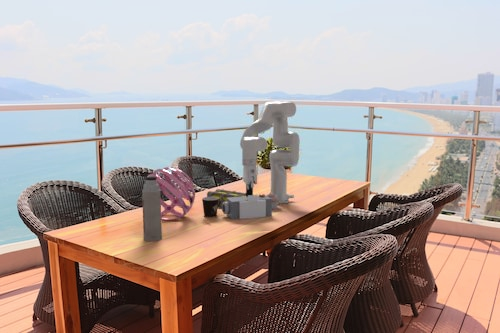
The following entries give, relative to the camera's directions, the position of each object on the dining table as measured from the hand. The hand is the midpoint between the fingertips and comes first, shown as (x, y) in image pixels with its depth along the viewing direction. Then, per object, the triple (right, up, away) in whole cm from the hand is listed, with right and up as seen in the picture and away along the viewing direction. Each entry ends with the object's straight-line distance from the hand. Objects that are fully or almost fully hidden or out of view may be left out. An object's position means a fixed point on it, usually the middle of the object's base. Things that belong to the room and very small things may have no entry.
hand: (249, 196), depth 245 cm
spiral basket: (-41, -11, +1) cm, 42 cm away
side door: (+2, -11, -3) cm, 11 cm away
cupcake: (+12, -8, +19) cm, 24 cm away
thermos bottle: (-43, -17, -36) cm, 58 cm away
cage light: (-12, -7, +28) cm, 31 cm away
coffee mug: (-19, -11, +3) cm, 22 cm away
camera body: (-2, -11, +2) cm, 11 cm away
